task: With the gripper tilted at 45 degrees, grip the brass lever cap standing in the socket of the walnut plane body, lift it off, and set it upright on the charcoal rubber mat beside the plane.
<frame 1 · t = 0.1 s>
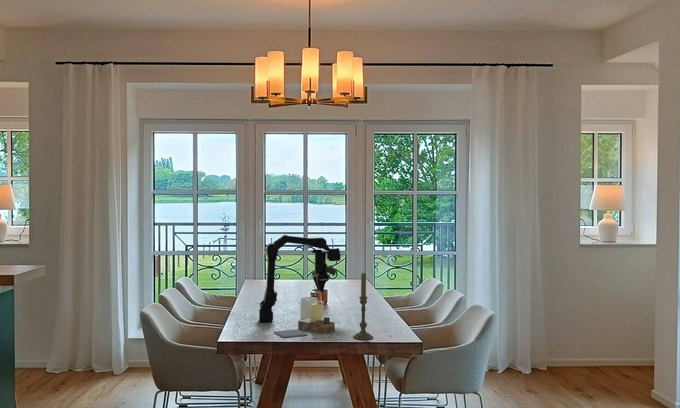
hand: (320, 291, 319), 15 cm above the table, tool pointing down, fingers open, 9 cm apart
candlestick holder: (363, 338, 277), on the table
rubber mat: (290, 334, 284), on the table
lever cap: (316, 324, 293), point 2 cm above the table, touching plane body
plane body: (316, 329, 293), on the table
mug: (311, 320, 318), on the table
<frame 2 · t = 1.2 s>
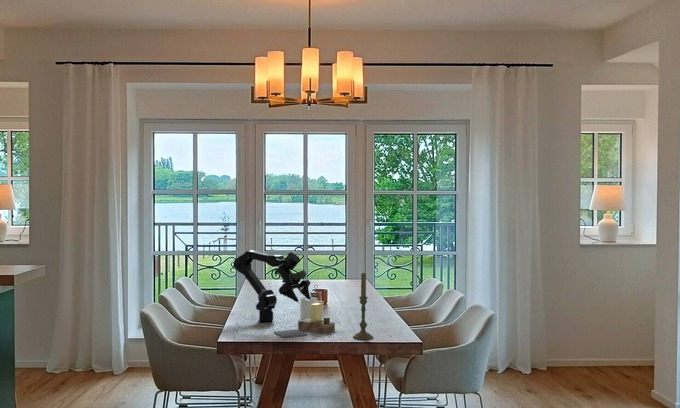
hand: (303, 300, 298), 13 cm above the table, tool tilted 45°, fingers open, 9 cm apart
nothing on the table moved.
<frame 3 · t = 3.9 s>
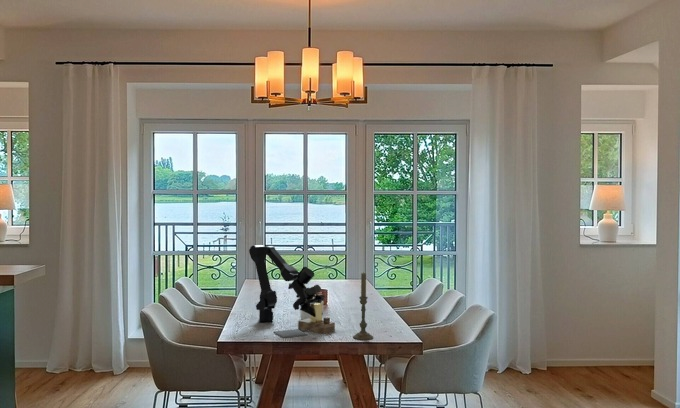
hand: (318, 315, 292), 7 cm above the table, tool tilted 45°, fingers closed on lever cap, 5 cm apart
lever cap: (316, 324, 293), point 2 cm above the table, touching gripper, plane body
everything else where it was.
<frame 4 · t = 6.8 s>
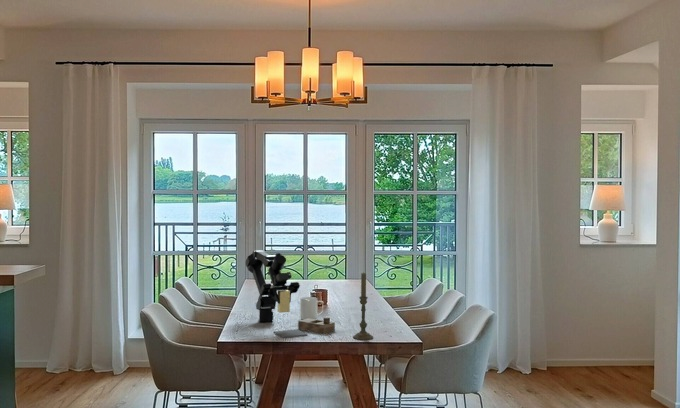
hand: (284, 302, 291), 13 cm above the table, tool tilted 45°, fingers closed on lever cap, 5 cm apart
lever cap: (283, 311, 292), point 9 cm above the table, touching gripper
everything else where it was.
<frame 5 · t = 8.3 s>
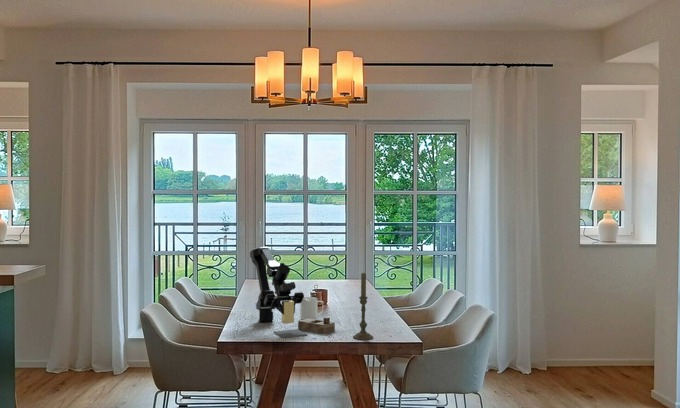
hand: (288, 313, 285), 9 cm above the table, tool tilted 45°, fingers closed on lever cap, 5 cm apart
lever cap: (287, 322, 286), point 5 cm above the table, touching gripper
everything else where it was.
when the fingers open (7 cm above the table, at t = 9.5 s): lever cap drops 1 cm, resting on rubber mat.
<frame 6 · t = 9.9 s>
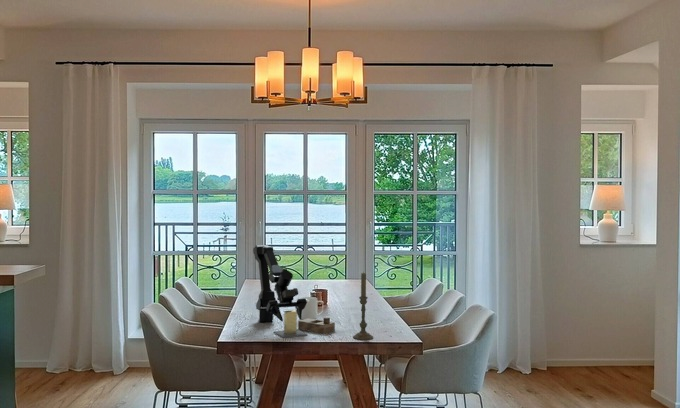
hand: (291, 320, 282), 7 cm above the table, tool tilted 45°, fingers open, 9 cm apart
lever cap: (290, 332, 284), point 1 cm above the table, touching rubber mat
everything else where it was.
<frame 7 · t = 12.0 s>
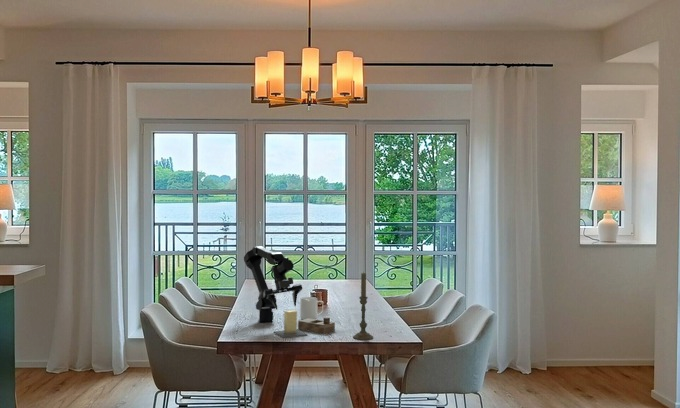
hand: (286, 307, 296), 10 cm above the table, tool tilted 25°, fingers open, 9 cm apart
nothing on the table moved.
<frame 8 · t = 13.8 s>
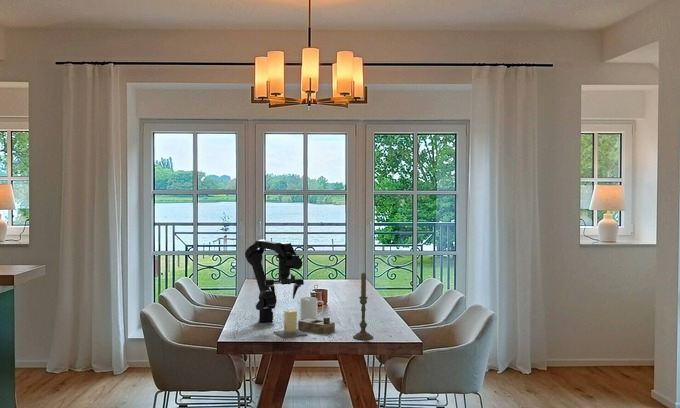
hand: (284, 299, 303), 13 cm above the table, tool pointing down, fingers open, 9 cm apart
nothing on the table moved.
at the end: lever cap inside the target area on the rubber mat (0.0 cm from its centre), point 0.6 cm above the rubber mat's base; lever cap tilted 0°; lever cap touching rubber mat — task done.
